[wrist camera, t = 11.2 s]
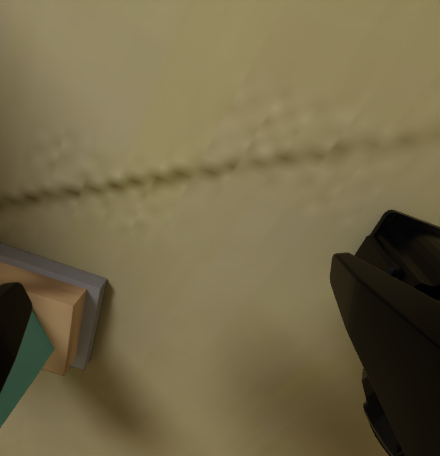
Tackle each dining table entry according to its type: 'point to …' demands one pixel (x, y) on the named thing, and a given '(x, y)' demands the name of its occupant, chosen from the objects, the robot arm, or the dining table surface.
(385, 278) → the robot arm
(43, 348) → the pillar
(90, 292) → the base slab
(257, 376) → the dining table surface
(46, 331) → the top slab
